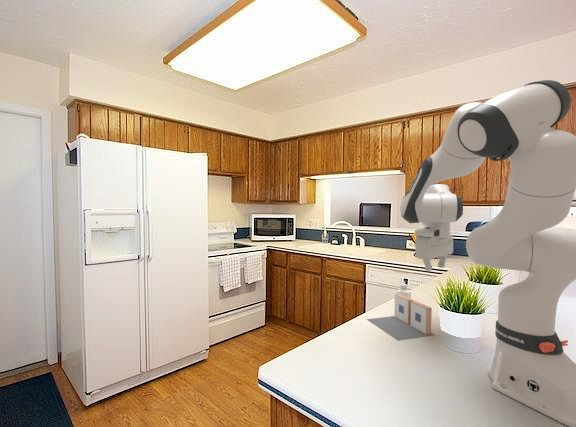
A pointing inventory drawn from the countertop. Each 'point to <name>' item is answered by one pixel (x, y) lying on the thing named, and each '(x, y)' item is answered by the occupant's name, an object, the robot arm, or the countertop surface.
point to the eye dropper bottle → (404, 290)
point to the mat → (397, 328)
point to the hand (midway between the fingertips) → (435, 268)
